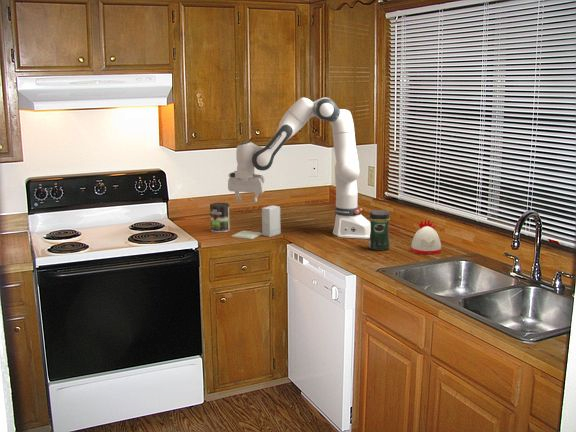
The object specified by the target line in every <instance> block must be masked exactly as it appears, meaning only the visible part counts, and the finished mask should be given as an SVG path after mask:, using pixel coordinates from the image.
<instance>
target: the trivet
mask: <svg viewBox="0 0 576 432" xmlns="http://www.w3.org/2000/svg"><path fill="white" fill-rule="evenodd" d="M230 236H231V238H237V239H246V240H247V239H248V240H252V239H255V238H257V237H260V236H263V235H262V232H259V231H250V230H241V231H239V232H236V233H234V234H232V235H230Z"/></svg>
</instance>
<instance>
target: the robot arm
mask: <svg viewBox="0 0 576 432" xmlns="http://www.w3.org/2000/svg"><path fill="white" fill-rule="evenodd" d="M314 117H316V118H317V119H318V120H321V121H327V122H330V125H331V129H332V130H331V131H332V141H333V142H332V143H333V150H334V155H335V160H336V162H335V165H334V178H335V179H334V181H335V182H334V183H335V206H334V208H335V209H334V216H335V220H334V221H335V222H334V226H333V231H332V234H333V235H334V236H337V237H338V238H347V239H348V238H350V239H362V240H364V239H366V240H367V239H370V230H371V223H370V220H369V219H367V217H364V216H363V215H362V210H363V208H362V207H361V208H360V207H359V205H358V201H359V200H358V199H359V198H358V197H359V196H358V194H359V193H358V192H359V190H358V183H357V182H358V181H357V179H358V178H359V176H360V172H361V170H360V162H359V157H358V150H357V144H356V135H355V125H354V124H355V123H354V119H353V116H352V113H351V111H350V110H349V109H344V108H343V109H340V108H339V107H338V105H337V104H336V102H335V101H334V100H332V99H331V98H329V97H321V98H317V99H314V100H311V99H309V98H307V97H300V98H298V99H297V100H296V101H295V102H294V103H293V104H292V105H291V106H290V107H289V108H288V109H287V111H285V113H284V114H283V116H282V117H281V120H280V121H279V124H278V128H277V130H276V132H275V134H274V135H273V136H272V138H271V139H270V140H269V141H268V143H267V144H266V145H265V146H259V145H257V144H255V143H254V142H252V141H242V142H240V143H239V144H237V146H236V151H235V153H236V157H235V158H236V159H235V160H236V163H237V166H236V170H234V171H232V172H230V173H228V180H227V189H228V191H229V192H233V193H234V195H235V197H236V200H237V201H241V200H242V196H240V194H239V193H252V194H254V195H255V196H254V197H253V198H252V201H253V202H258V197H259V196H260V194H263V193H264V192H265V191H266V184H265V177H264V176H263V175H262V174H256V172H255V169H256V170H258V171H267V170H269V169H270V168H271V166H272V165H273V162H274V158H275V156H276V154H277V153H278V152H279V151H280V150H281V149H282V147H283V145H284V144H285V143H286V142H287V141H288V140H289V139H291V138H292V137H293V136H295V135H296V134H297V133H298V132H299V131H300V130H301V129H303V127H304V126H305V125H306V123H307V122H308V121H309V120H310V119H311V118H314Z"/></svg>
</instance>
